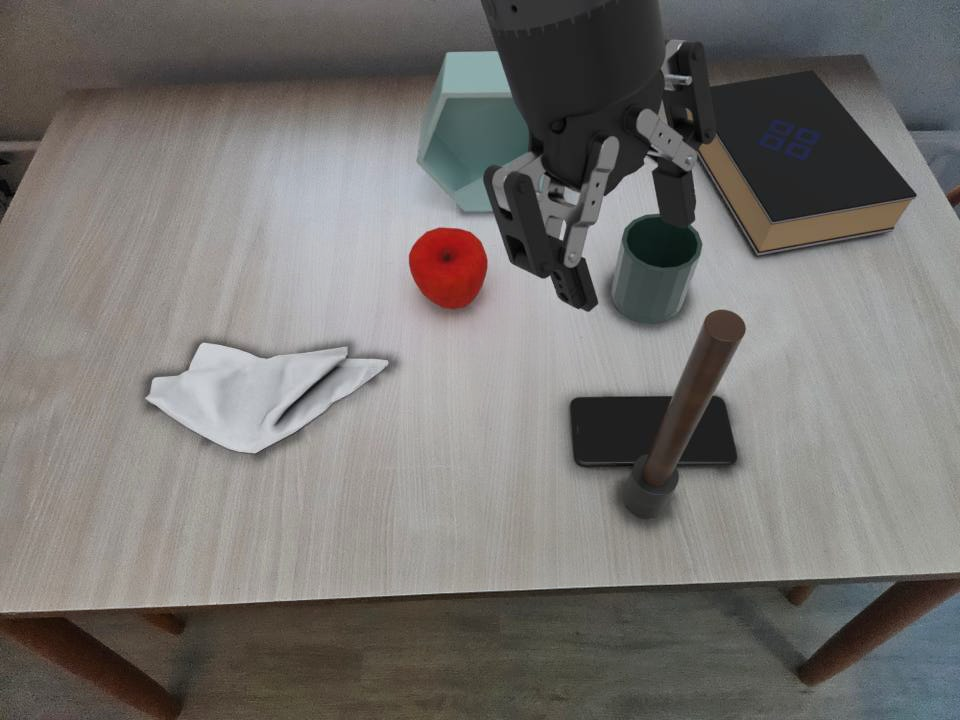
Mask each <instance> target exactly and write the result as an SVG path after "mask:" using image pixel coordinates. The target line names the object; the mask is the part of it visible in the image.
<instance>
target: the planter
mask: <svg viewBox="0 0 960 720" xmlns="http://www.w3.org/2000/svg"><path fill="white" fill-rule="evenodd" d="M528 145H529V131H528V126H527V124H526V122H525V120H524V118H523V117H522V115H521V113H520V112H519V110H518V108H517V107H516V105H515V103H514V100H513V97H512V94H511V91H510V88H509V85H508V82H507V79H506V76H505V73H504V70H503V66H502V63H501V60H500V57H499V54H498V51H497V50H496V51H495V50H494V51H491V50H489V51H447V52H446V53H445V56H444V58H443V61H442V64H441V67H440V69H439V73H438V75H437V78H436V80H435V84H434V86H433V90H432V92H431V95H430V97H429V101H428V103H427V106H426V109H425V112H424V114H423V118H422V121H421V125H420V132H419V140H418V147H417V153H416V159H415V160H416V161H415V162H416V163H417V164H418V166H419V167H421V169H422V170H423V171H424V172H425V173H426V174H427V175H428V176H429V177H430V178H431V179H432V180H433V181H434V182H435V183H436V184H437V185H438V186H439V187H440V188H441V190H443V191H444V192H445V193H446V194H447V195H448V196H449V197H450V199H451V200H452V201H453V202H454V203H455V204H456V205H457V206H458V207H460V209H461V210H462V211H463V212H465V213H466V212H469V213H470V212H471V213H473V212H475V213H476V212H479V213H480V212H481V213H482V212H488V213H489V212H490V213H491V212H492V213H493V210H492V207H491V204H490V201H489V198H488V195H487V192H486V189H485V186H484V182H483V175H484V172H485V170H486V169H487V168H488V167H489V166H491V165H498V166H501V167H504V168H506V167H508V166H509V165H511V164H512V163H514V162H515V161H517V160H518V159H520V158H521V157H523V156H524V155H526V154H527V153H528ZM543 180H544V174H543V175H542V177H541V179H540V183H539V188H540V192H541V190H542V185H543ZM538 204H539V202H538Z"/></svg>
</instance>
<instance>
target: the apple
mask: <svg viewBox="0 0 960 720" xmlns="http://www.w3.org/2000/svg"><path fill="white" fill-rule="evenodd" d="M488 264H489V260H488V255H487V252H486V249H485V247H484V245H483V242H482V241H481V240H480V239H479V238H478V237H477V236H476V235H475V234H474V233H473V232H471V231H469V230H465V229H463V228H457V227H442V226H441V227H439V226H438V227H436V228H433V229H430V230H427V231H426V232H424V233H423V234H422V235H421V236H420V237H419V238H417V240H416V241H415V242H414V243H413V245H412V246H411V248H410V251H409V253H408V266H409V270H410V274H411V276H412V279H413V282H415V284H416V287H417V288H418V289H419V291H420V292H421V293H422V295H423V296H424V297H425V298H426V299H428V300H429V301H430V302H432V303H433V304H435V305H436V306H438V307H440V308H442V309H448V310H457V309H462V308H466V307H468V305H470V304H471V303H472V302H473V301H474V300H475V299H476V298H477V296H478V295H479V293H480V292H481V290H482V288H483V286H484V283H485V279H486V276H487V271H488V267H489V265H488Z"/></svg>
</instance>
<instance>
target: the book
mask: <svg viewBox="0 0 960 720" xmlns="http://www.w3.org/2000/svg"><path fill="white" fill-rule="evenodd" d="M710 90H711V97H712V103H713V109H714V116H715V122H716V135H715V138H714V140H713V141H712V142H711V143H710V144H708V145H706V144H702V145H701V146H700V148H699V149H698V151H697V158H698V159H699V160H700V162H701V164H702V165H703V167H704V169H705V171H706V172H707V174H708V175H709V178H710V179H711V181H712V182H713V184H714V186H715V188H716V189H717V191H718V193H719V194H720V196H721V198H722V200H723V201H724V203H725V205H726V206H727V208H728V210H729V212H730V213H731V215H732V216H733V218H734V220H735V222H736V223H737V225H738V227H739V228H740V230H741V232H742V233H743V235H744V237H745V238H746V241H747V242H748V244H749V246H750V247H751V249H752V250H753V252H754V254H755V255H756V257H761V256H765V255H772V254H777V253H782V252H787V251H788V252H789V251H792V250H793V251H794V250H799V249H805V248H810V247H815V246H820V245H821V246H822V245H827V244H832V243H837V242H843V241H848V240H854V239H859V238H860V239H861V238H865V237H869V236H870V237H871V236H875V235H881V234H888V233H892V232H893V231H894V230H895V229H896V228H895V226H896V224H897V223H898V221H899V219H900V218H901V217H902V215H903V214H904V213H905V211H906V210H907V209H908V207H909V205H910V204H911V202H912V201H913V200H916V197H917V196H918V193H916V191H915V190H914V189H913V188H912V187H911V185H910V184H909V183H908V182H907V180H906V179H905V178H904V177H903V176H902V175H901V173H900V172H899V171H898V170H897V169H896V168H895V166H894V165H893V164H892V163H891V162H890V160H889V159H888V158H887V157H886V155H885V154H884V153H883V152H882V151H881V149H880V148H879V147H878V146H877V145H876V143H875V142H874V141H873V139H871V137H870V136H869V135H868V134H867V133H866V132H865V130H864V129H863V128H862V127H861V126H860V125H859V123H858V122H857V120H855V119H854V117H853V116H852V115H851V113H849V111H848V110H847V109H846V107H845V106H844V105H843V104H842V103H841V102H840V101H839V99H838V98H837V97H836V95H834V93H833V92H832V91H831V90H830V88H828V86H827V85H826V83H825V82H824V81H823V80H822V79H821V78H820V77H819V76H818V74H817V73H816V72H815V71H814V69H811V70H804V71H798V72H792V73H785V74H780V75H774V76H767V77H761V78H755V79H748V80H742V81H736V82H730V83H723V84H718V85H712V86H711V85H710ZM686 110H687V116H688V119H691V120H693V118H692V113H691V111H690V110H689V109H687V108H686Z"/></svg>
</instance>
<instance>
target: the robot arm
mask: <svg viewBox="0 0 960 720" xmlns="http://www.w3.org/2000/svg"><path fill="white" fill-rule="evenodd" d="M480 3H481V6H482V9H483V11H484V14H485V17H486V20H487V24H488V26H489V30H490V32H491V33H490V34H491V37H492V38H493V43H494V45H495V48H496V51H498V54H499V57H500V60H501V63H502V66H503V70H504V73H505V76H506V79H507V82H508V85H509V88H510V91H511V94H512V97H513V100H514V103H515V105H516V107H517V108H518V110H519V112H520V113H521V115H522V117H523V118H524V120H525V122H526V124H527V126H528V131H529V145H528V153H527V154H526V155H524V156H523V157H521V158H520V159H518V160H517V161H515V162H514V163H512V164H511V165H509V166H508V167H506V168H504V167H501V166H498V165H491V166H489V167H488V168H487V169H486V170H485V172H484V175H483V182H484V186H485V189H486V192H487V195H488V198H489V201H490V204H491V207H492V210H493V212H492V213H493V216H494V219H495V222H496V225H497V228H498V231H499V233H500V237H501V240H502V243H503V246H504V249H505V252H506V255H507V257H508V258H507V259H508V261H509V262H510V264H511V265H513V266H515V267H517V268H519V269H520V270H523V271H525V272H528V273H530V274H531V275H533V276H536V277H537V278H539V279H543V280H545V279H548V278H549V277H550V280H551V282H552V285H553V288H554V290H555V293H556V297H557V298H558V299H559V300H560V301H561V302H563V303H564V304H567V305H569V306H571V307H572V308H575V309H577V310H580V309H581V310H582V311H584V312H587V313H590V312H591V311H592V310H593V309H595V307H597V306H598V305H599V299H598V296H597V293H596V289H595V286H594V282H593V279H592V276H591V272H590V269H589V266H588V263H587V259H586V258H585V257H584V256H583V251H584V248H585V243H586V240H587V236H588V231H589V228H590V227H593V226H594V225H596V223H597V222H598V220H599V216H600V212H601V208H602V203H603V200H604V197H607V196H608V195H609V194H610V193H612V191H614V190H615V189H616V188H617V187H618V185H619V184H620V183H621V182H622V181H623V179H624V178H625V177H628V176H629V175H632V174H635V173H636V172H637V171H639V170H640V169H641V168H642V167H644V166H645V164H646V163H645V158H646V159H647V160H649V161H650V162H651V163H654V164H656V165H657V166H656V167H655V168H654V169H652V170H651V175H652V181H653V186H654V192H655V196H656V201H657V207H658V212H659V213H658V214H660V217H661V219H662V220H663V221H664V222H665V223H667V224H670V225H674V226H677V227H680V228H683V229H686V228H687V227H688V226H690V225H691V226H692V224H693V223H694V222H696V213H695V211H696V206H697V197H696V196H697V195H696V190H695V182H694V175H693V169H694V168H695V166H696V163H697V160H698V155H697V151H698V149H699V148H700V146H701V145H702V144H706V145H708V144H710V143H711V142H712V141H713V140H714V138H715V135H716V122H715V116H714V109H713V103H712V97H711V90H710V87H711V85H710V79H709V71H708V65H707V59H706V53H705V46H704V44H703V43H702V42H701V41H693V40H687V39H665V34H664V26H663V21H662V14H661V8H660V1H659V0H480ZM661 105H663V109H664V114H665V118H666V123H665V122H664V121H663V120H662V119H661V116H659V115H660V114H659V113H660V109H661ZM687 109H689V110H690V111H691V113H692V118H693V120H691V119H688V116H687ZM543 174H544V180H543V185H542V190H541V192H540V188H539V183H540V179H541V177H542V175H543ZM565 188H567V189H568V190H570V191H573V192H576V193H579V197H578V200H577V202H576V204H575V203H571V202H568V201H567V200H566V199H565V194H564V193H565ZM538 202H539V204H538ZM564 222H565V230H564V234H563V238H562V239H561V238H560V237H561V232H562V227H563V224H564Z"/></svg>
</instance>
